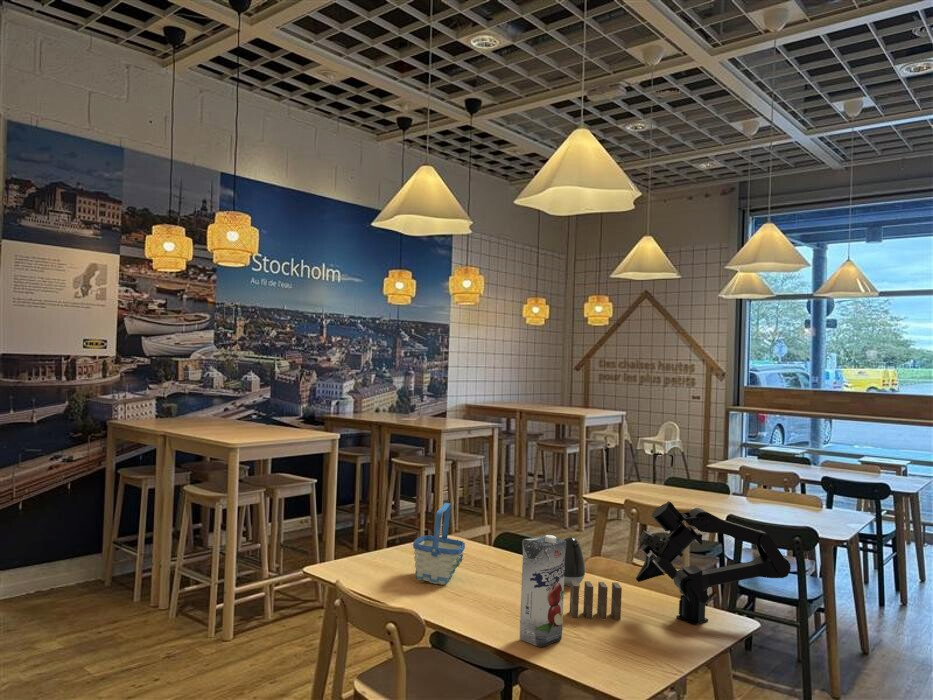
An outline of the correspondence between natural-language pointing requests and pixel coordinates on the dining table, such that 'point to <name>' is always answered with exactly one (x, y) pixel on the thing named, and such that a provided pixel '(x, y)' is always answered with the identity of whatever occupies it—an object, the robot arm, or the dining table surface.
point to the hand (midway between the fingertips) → (637, 580)
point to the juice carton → (542, 590)
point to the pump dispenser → (573, 562)
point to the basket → (438, 552)
